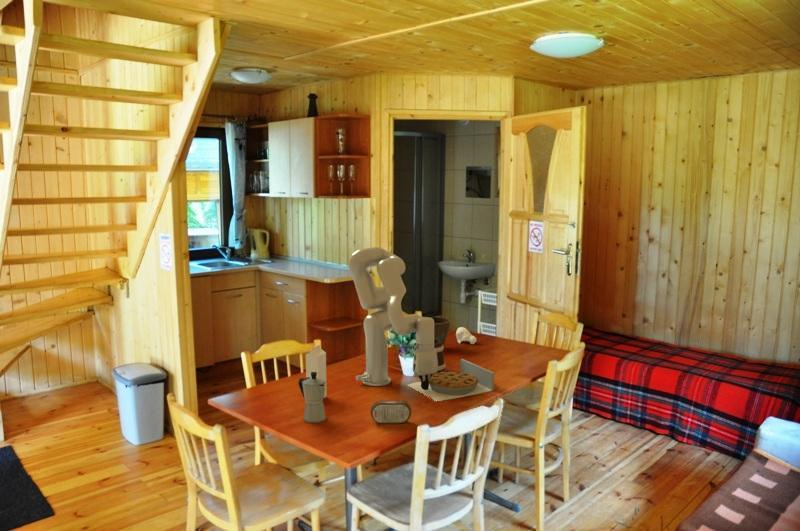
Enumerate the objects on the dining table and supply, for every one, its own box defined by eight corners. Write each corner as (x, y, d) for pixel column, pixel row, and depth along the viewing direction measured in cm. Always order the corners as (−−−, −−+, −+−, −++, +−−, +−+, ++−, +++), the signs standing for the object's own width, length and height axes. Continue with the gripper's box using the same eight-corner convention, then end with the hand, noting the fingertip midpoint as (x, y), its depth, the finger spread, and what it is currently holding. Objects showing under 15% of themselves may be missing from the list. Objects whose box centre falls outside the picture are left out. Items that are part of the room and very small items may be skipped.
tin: (411, 421, 229) (411, 399, 228) (411, 424, 226) (411, 402, 225) (370, 421, 229) (370, 399, 227) (370, 424, 225) (370, 402, 224)
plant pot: (450, 353, 322) (451, 323, 320) (422, 353, 321) (422, 323, 319) (448, 345, 336) (448, 317, 334) (421, 345, 336) (421, 317, 334)
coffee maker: (334, 419, 230) (334, 373, 228) (316, 426, 224) (315, 378, 221) (308, 409, 240) (308, 365, 238) (291, 416, 233) (289, 370, 231)
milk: (306, 399, 252) (305, 346, 249) (314, 394, 258) (313, 343, 255) (318, 401, 249) (317, 348, 247) (327, 396, 255) (325, 345, 252)
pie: (466, 399, 250) (466, 387, 249) (418, 391, 261) (418, 379, 260) (485, 384, 269) (486, 373, 268) (440, 377, 280) (440, 366, 279)
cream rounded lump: (460, 325, 346) (479, 330, 340) (459, 339, 348) (478, 344, 341) (455, 327, 341) (474, 332, 335) (453, 342, 343) (472, 347, 336)
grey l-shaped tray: (435, 403, 249) (435, 382, 248) (407, 386, 270) (407, 367, 269) (493, 392, 263) (493, 372, 261) (462, 376, 284) (462, 358, 282)
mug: (452, 373, 287) (452, 341, 285) (427, 379, 278) (428, 347, 276) (424, 363, 303) (425, 333, 301) (400, 368, 294) (400, 338, 292)
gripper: (414, 351, 251) (413, 394, 253) (445, 346, 258) (444, 388, 260) (405, 347, 258) (405, 389, 260) (435, 342, 265) (435, 383, 267)
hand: (424, 388), depth 260 cm, fingers closed
